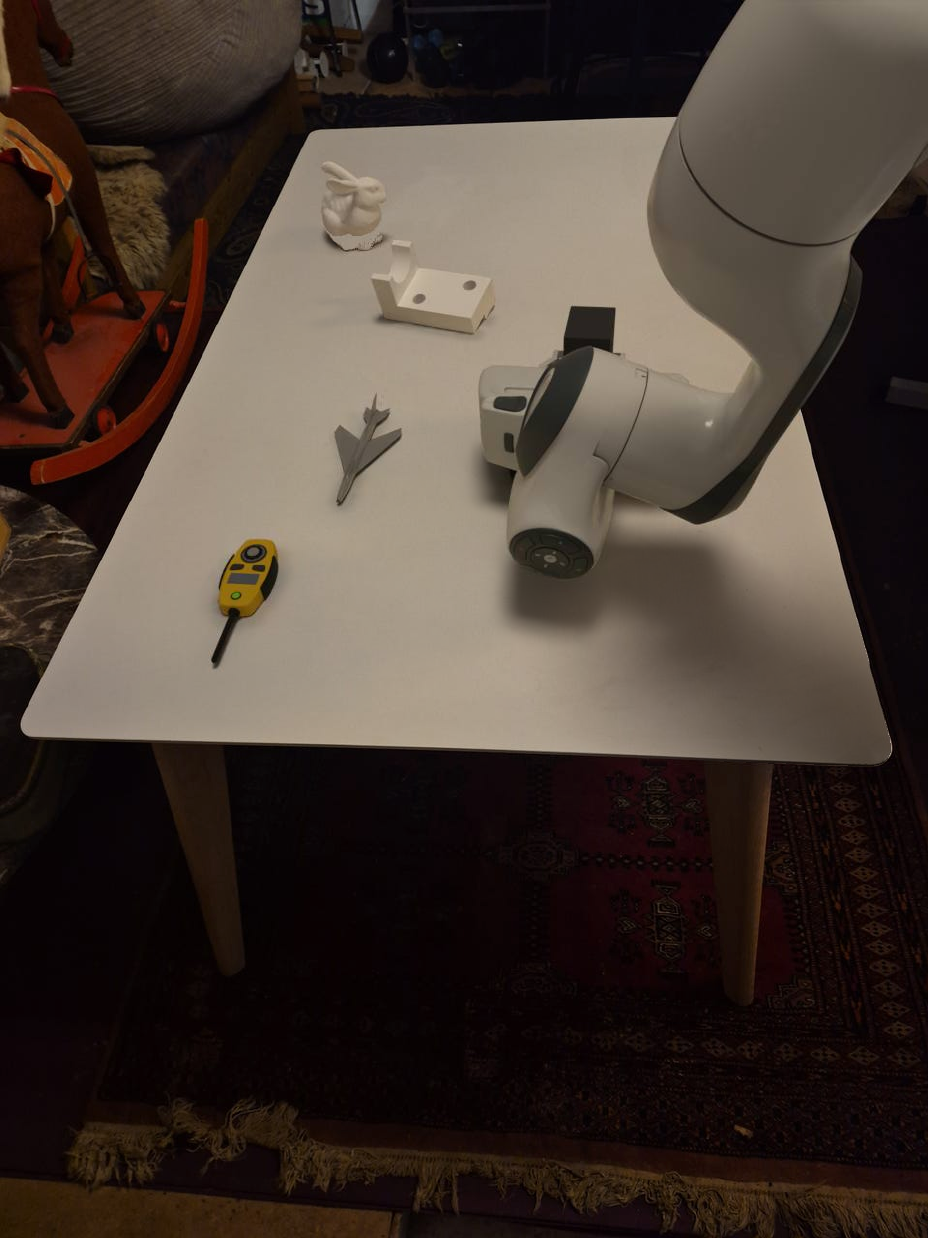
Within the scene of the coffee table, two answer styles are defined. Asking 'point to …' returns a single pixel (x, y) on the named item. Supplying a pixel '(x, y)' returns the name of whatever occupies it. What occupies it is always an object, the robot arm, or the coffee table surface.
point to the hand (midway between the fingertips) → (589, 357)
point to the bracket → (432, 293)
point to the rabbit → (351, 203)
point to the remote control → (246, 583)
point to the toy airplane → (361, 446)
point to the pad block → (589, 328)
